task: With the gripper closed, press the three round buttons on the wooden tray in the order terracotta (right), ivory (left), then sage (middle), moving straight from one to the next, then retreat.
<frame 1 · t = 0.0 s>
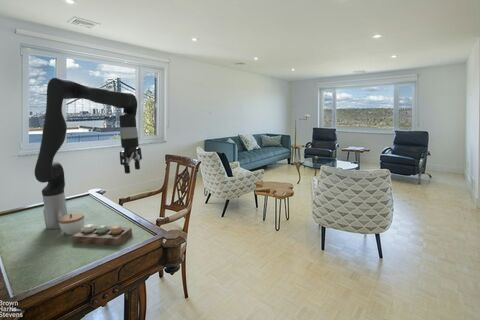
hand: (132, 171, 128), 29 cm above the table, fingers open, 8 cm apart
button ivory: (88, 228, 125), point 5 cm above the table, slide at 0.0 cm
button sage: (102, 229, 124), point 5 cm above the table, slide at 0.0 cm
lidded jar: (73, 232, 133), on the table
wooden tray: (103, 238, 124), on the table
button terracotta: (116, 230, 122), point 5 cm above the table, slide at 0.0 cm
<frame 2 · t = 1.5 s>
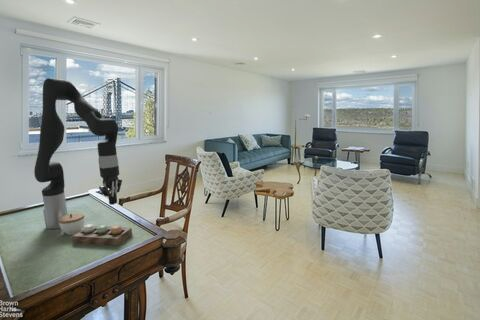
hand: (113, 203, 120), 17 cm above the table, fingers closed
nothing on the table moved.
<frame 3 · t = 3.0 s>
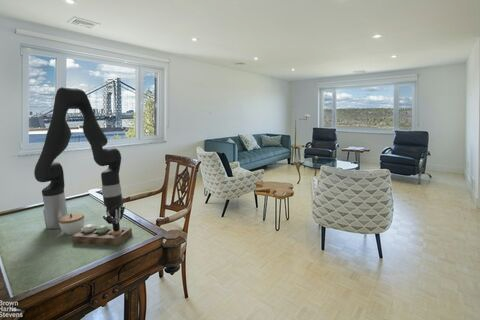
hand: (116, 230, 122), 4 cm above the table, fingers closed
button terracotta: (116, 233, 123), point 3 cm above the table, slide at 1.5 cm, touching gripper
everything else where it was.
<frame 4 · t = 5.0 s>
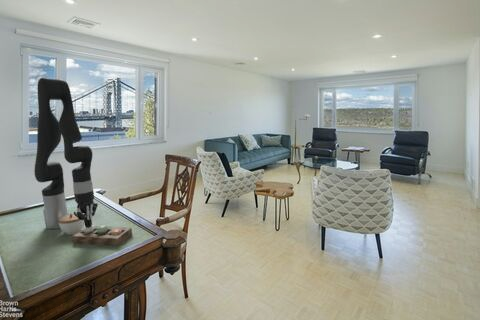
hand: (88, 226, 125), 5 cm above the table, fingers closed
button ivory: (88, 229, 125), point 4 cm above the table, slide at 0.4 cm, touching gripper
button terracotta: (116, 233, 123), point 3 cm above the table, slide at 1.7 cm
everything else where it was.
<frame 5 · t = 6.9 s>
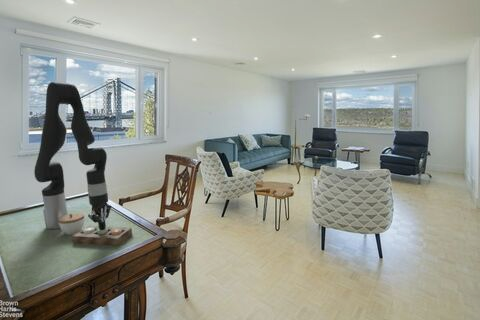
hand: (102, 229, 123), 5 cm above the table, fingers closed
button ivory: (89, 232, 125), point 3 cm above the table, slide at 1.7 cm
button sage: (102, 231, 124), point 3 cm above the table, slide at 1.2 cm, touching gripper
everything else where it was.
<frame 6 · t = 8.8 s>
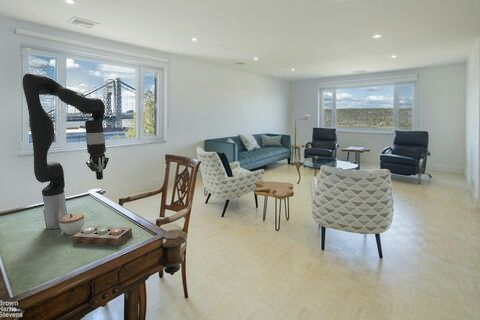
hand: (99, 179, 127), 26 cm above the table, fingers closed
button sage: (102, 232, 124), point 3 cm above the table, slide at 1.7 cm
everything else where it was.
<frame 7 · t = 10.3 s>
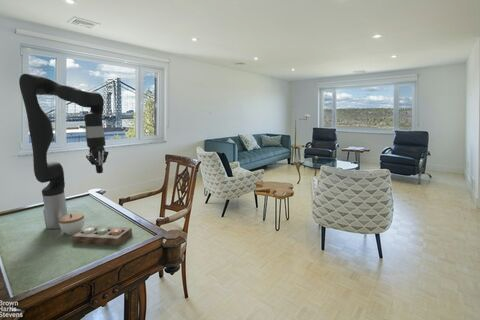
hand: (99, 172, 128), 29 cm above the table, fingers closed
nothing on the table moved.
at the end: button terracotta slide at 1.7 cm; button ivory slide at 1.7 cm; button sage slide at 1.7 cm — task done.
